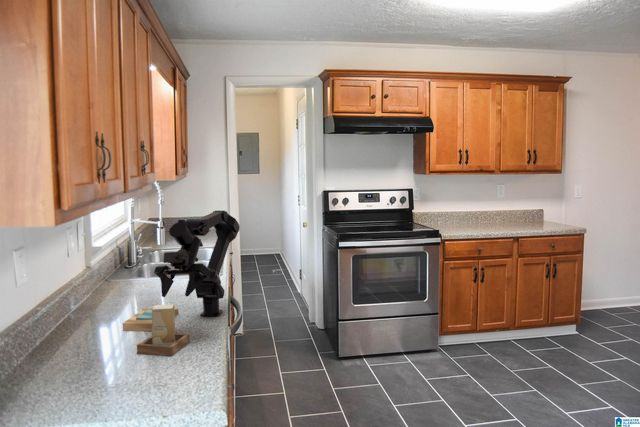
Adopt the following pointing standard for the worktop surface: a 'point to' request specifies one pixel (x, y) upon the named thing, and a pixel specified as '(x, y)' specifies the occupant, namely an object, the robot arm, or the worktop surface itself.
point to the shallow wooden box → (141, 320)
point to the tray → (149, 348)
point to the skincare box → (163, 325)
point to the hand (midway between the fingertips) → (174, 296)
